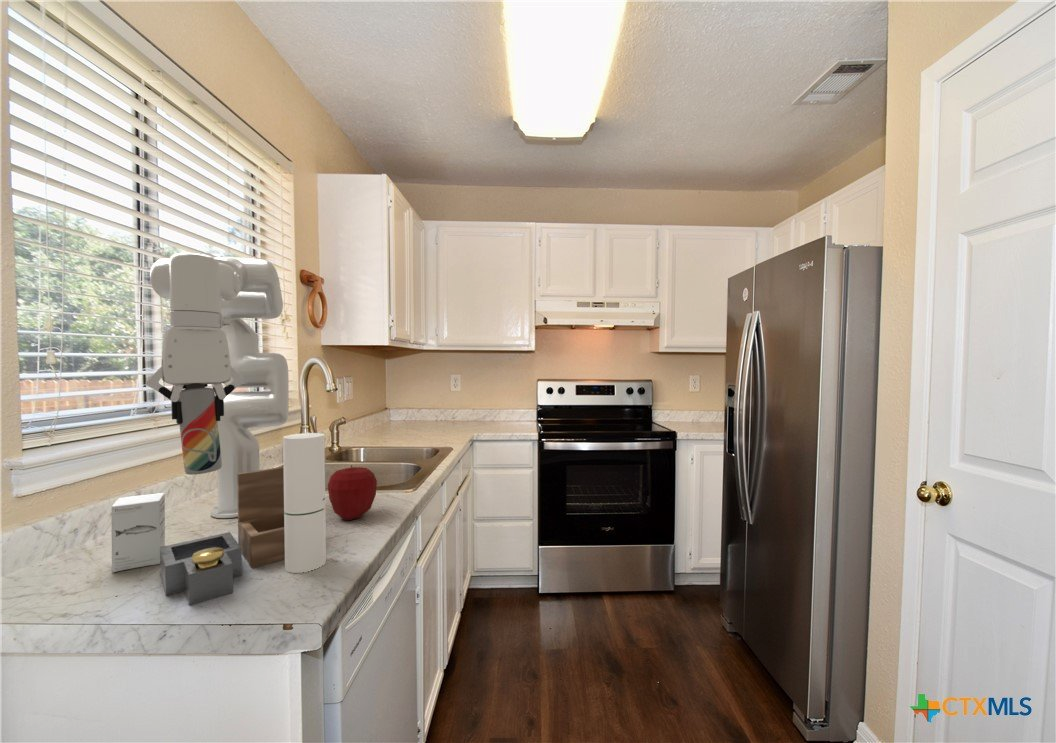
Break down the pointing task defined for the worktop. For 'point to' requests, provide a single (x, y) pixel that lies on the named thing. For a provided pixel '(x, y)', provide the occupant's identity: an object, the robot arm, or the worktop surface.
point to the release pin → (207, 557)
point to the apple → (352, 492)
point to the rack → (261, 516)
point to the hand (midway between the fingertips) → (198, 420)
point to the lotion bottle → (199, 430)
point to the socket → (205, 581)
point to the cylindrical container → (304, 502)
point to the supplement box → (137, 531)
